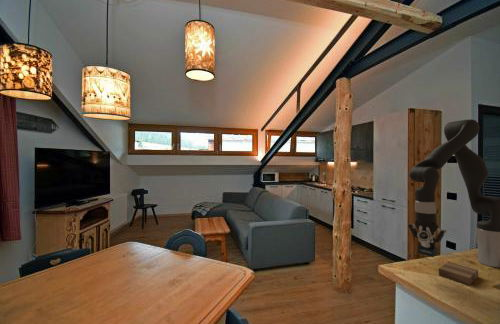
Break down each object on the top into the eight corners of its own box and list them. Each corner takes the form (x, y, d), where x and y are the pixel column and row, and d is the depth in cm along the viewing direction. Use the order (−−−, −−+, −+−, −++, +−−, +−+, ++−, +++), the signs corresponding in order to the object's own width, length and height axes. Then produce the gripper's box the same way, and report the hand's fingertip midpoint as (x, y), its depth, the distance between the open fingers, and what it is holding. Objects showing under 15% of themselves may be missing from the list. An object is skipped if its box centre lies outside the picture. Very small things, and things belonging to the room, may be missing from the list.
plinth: (448, 267, 104) (448, 261, 104) (478, 276, 95) (477, 270, 95) (438, 275, 98) (438, 268, 98) (469, 285, 89) (469, 278, 89)
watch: (416, 253, 97) (414, 229, 97) (424, 249, 101) (423, 226, 101) (431, 258, 92) (430, 232, 92) (439, 253, 96) (438, 229, 96)
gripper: (448, 212, 92) (450, 252, 92) (411, 207, 104) (412, 242, 104) (442, 215, 88) (444, 256, 88) (403, 209, 100) (405, 246, 100)
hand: (427, 248), depth 96 cm, fingers closed on watch, 3 cm apart
